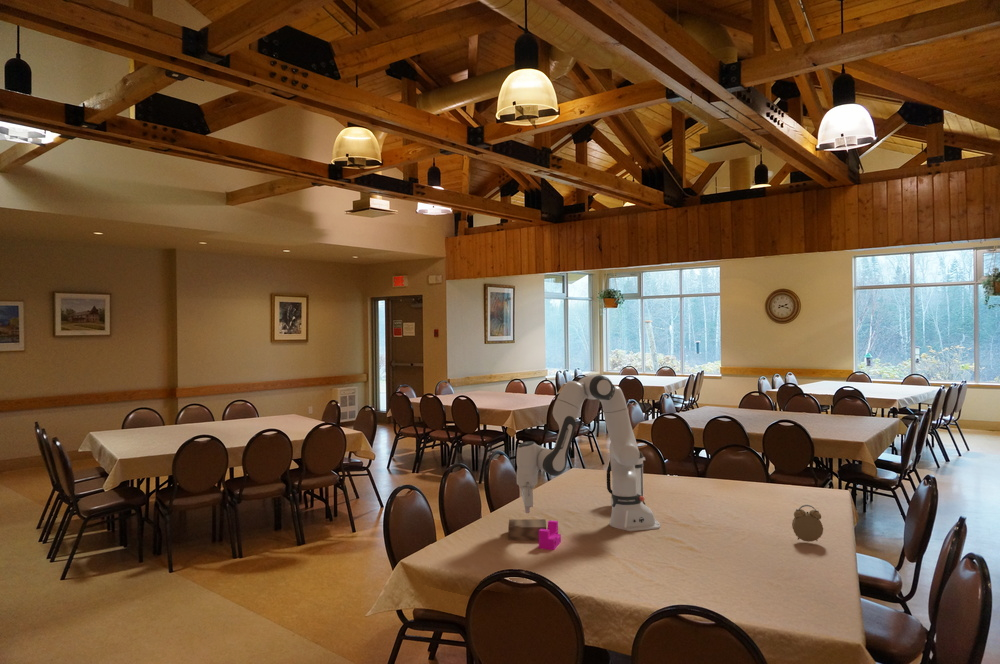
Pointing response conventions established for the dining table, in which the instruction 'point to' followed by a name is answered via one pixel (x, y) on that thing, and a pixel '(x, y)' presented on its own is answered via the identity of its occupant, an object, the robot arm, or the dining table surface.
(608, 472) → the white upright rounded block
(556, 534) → the toy block
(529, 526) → the walnut plinth
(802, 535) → the alarm clock
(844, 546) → the dining table surface
